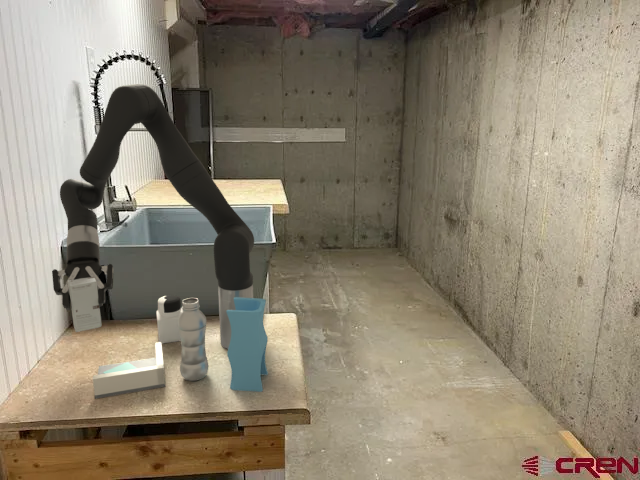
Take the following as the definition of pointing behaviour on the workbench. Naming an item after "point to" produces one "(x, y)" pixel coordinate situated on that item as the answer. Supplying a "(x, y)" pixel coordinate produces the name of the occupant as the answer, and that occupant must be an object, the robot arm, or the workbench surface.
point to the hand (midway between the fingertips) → (84, 306)
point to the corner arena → (130, 376)
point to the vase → (247, 344)
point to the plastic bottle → (192, 341)
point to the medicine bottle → (168, 318)
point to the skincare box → (84, 303)
